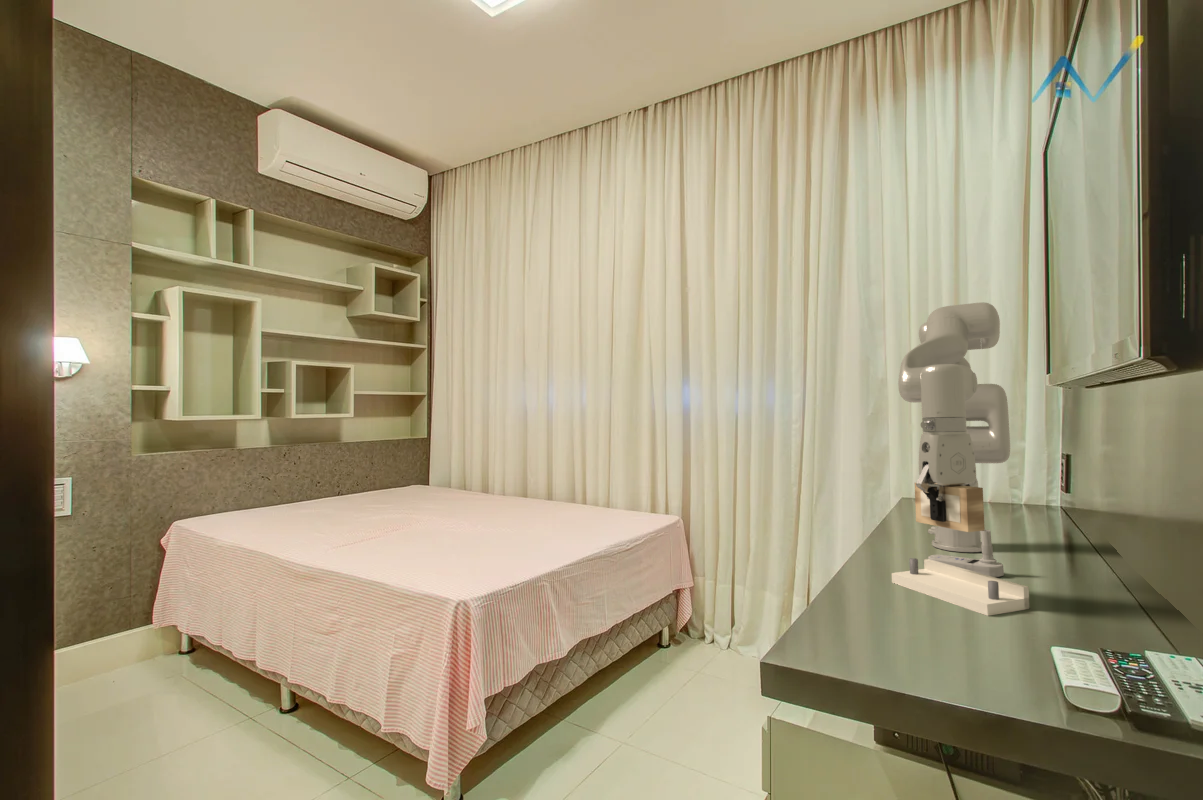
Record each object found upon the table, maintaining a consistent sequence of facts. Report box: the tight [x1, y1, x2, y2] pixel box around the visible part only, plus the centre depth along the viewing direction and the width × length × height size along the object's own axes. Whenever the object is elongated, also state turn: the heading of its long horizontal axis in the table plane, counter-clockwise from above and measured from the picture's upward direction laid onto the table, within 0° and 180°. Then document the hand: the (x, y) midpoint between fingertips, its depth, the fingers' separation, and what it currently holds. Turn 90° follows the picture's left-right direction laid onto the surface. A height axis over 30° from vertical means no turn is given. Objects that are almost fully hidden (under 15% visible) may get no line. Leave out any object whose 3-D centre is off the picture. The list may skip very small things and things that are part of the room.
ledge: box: [891, 558, 1030, 617], centre depth 115 cm, size 22×10×5 cm, turn 17°
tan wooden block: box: [914, 482, 986, 532], centre depth 115 cm, size 12×4×8 cm, turn 17°
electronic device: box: [927, 529, 1005, 578], centre depth 132 cm, size 5×10×15 cm
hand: (948, 518), depth 115 cm, fingers closed on tan wooden block, 4 cm apart
